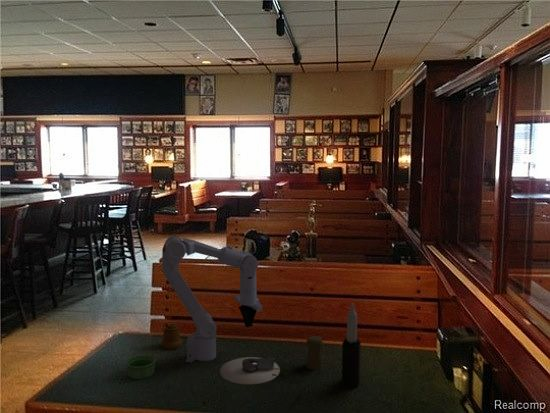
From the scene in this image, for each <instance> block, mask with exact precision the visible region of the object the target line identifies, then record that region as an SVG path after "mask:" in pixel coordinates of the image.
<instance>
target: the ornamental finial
mask: <svg viewBox="0 0 550 413" xmlns="http://www.w3.org/2000/svg"><path fill="white" fill-rule="evenodd" d="M160 343H161V344H160V345H161V348H162V349H164V350H166V351H167V350H169V351H173V350H177V349H180V348H181V347H182V346H183V340H182V338H181V333H180V327H178V326H177V325H176V324H173V323H169V324H168V325H167V326H165V327H164V329H163V339H162V341H161V342H160Z"/></svg>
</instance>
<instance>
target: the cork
mask: <svg viewBox="0 0 550 413" xmlns="http://www.w3.org/2000/svg"><path fill="white" fill-rule="evenodd" d="M323 344H324V343H323V339H322V338H321V337H320V336H316V335H312V336H309V337H308V338H307V339H306V346H307V354H306V362H305V368H307V369H309V370H313V371H317V370H318V371H317V372H316V374H315V375H316V376H317V375H321V374H323V373H324V364H323V355H322V347H323Z"/></svg>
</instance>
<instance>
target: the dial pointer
mask: <svg viewBox="0 0 550 413" xmlns="http://www.w3.org/2000/svg"><path fill="white" fill-rule="evenodd" d="M274 362H275V359H274V357H257V358H256V359H253V358H248V359H244V360H243V361H242V370H243V371H244V372H255V371H257V370H264V369H274Z"/></svg>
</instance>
